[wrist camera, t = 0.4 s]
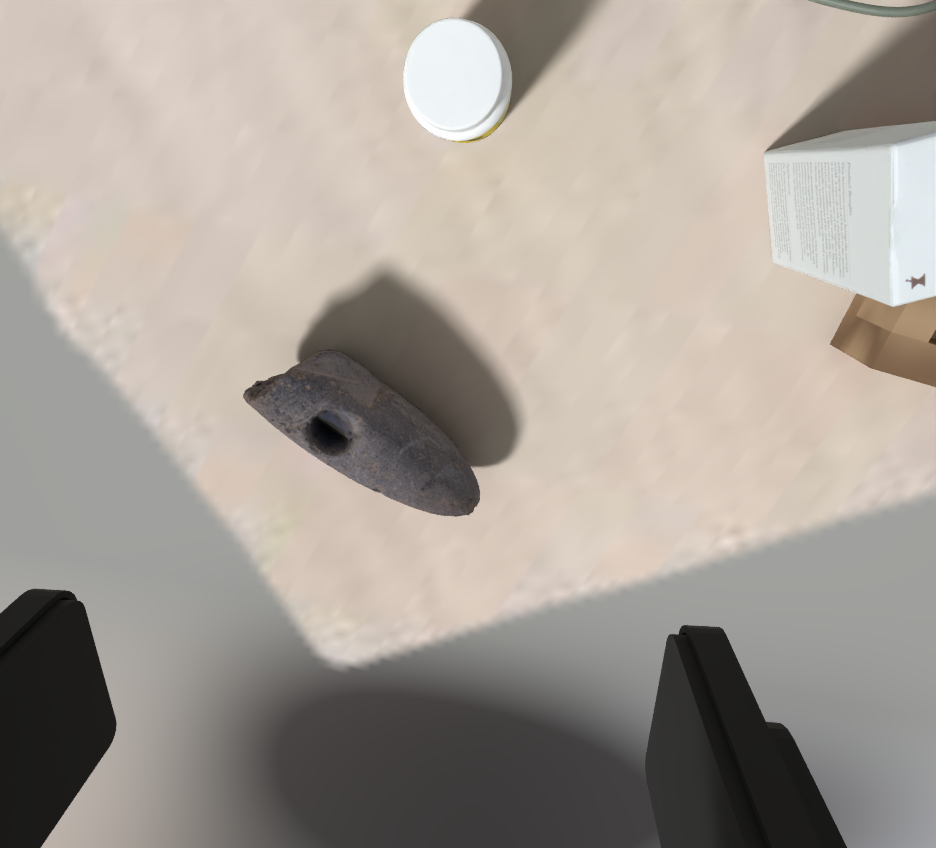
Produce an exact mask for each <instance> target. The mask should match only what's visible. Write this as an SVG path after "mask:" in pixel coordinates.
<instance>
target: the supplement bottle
mask: <svg viewBox="0 0 936 848" xmlns="http://www.w3.org/2000/svg"><path fill="white" fill-rule="evenodd" d="M403 83H404V92H405V97H406V100H407V103H408V106H409V108H410V110H411V112H412V113H413V115H414V117H415V118H416V119H417V121H418V122H419V123H420V124H421V125H422V126H423V127H424V128H425V129H426V130H427V131H429V132H430V133H432V134H433V135H435V136H437V137H440V138H442V139H445V140H449V141H453V142H459V143H470V142H475V141H479V140H481V139H484V138H486V137H487V136H489V135H490V134H492V133H493V132H494V131H495V130H496V129H497V128H498V127H499V125H500V124H501V123H502V121H503V120H504V118H505V116H506V114H507V111H508V108H509V104H510V99H511V91H512V71H511V65H510V61H509V58H508V55H507V53H506V51H505V49H504V47H503V46H502V44H501V42H500V41H499V40H498V39H497V37H496V36H495V35H494V34H493V33H492V32H491V31H490V30H488V29H487V28H486V27H484V26H483V25H481V24H479V23H477V22H474V21H471V20H466V19H460V18H446V19H442V20H439V21H436V22H434V23H432V24H430V25H429V26H427V27H426V28H425V29H423V30H422V31H421V32H420V33H419V35H418V36H417V37H416V38H415V40H414V41H413V43H412V45H411V47H410V49H409V51H408V54H407V58H406V62H405V67H404V75H403Z"/></svg>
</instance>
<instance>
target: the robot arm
mask: <svg viewBox="0 0 936 848" xmlns="http://www.w3.org/2000/svg"><path fill="white" fill-rule="evenodd" d="M115 732H116V718H115V715H114V711H113V708H112V704H111V700H110V697H109V693H108V690H107V686H106V682H105V679H104V675H103V671H102V668H101V665H100V660H99V657H98V653H97V650H96V646H95V642H94V639H93V635H92V632H91V628H90V625H89V621H88V617H87V613H86V610H85V607H84V605H83V603H82V602H80V601H77V599H76V597H75V595H74V594H73V593H72V592H70V591H65V590H64V591H62V590H46V589H31V590H28V591H26V592H25V593H23V594H22V595H21V596H19V597H18V598H17V599H16V600H15V601H14V602H13V603H12V604H10V605H9V606H8V607H7V608H6V609H5V610H4V611H3V612H2V613H0V848H41V846H42V845H43V843H44V842H45V840H46V839H47V837H48V836H49V834H50V833H51V831H52V830H53V829H54V827H55V826H56V824H57V823H58V821H59V820H60V818H61V817H62V815H63V814H64V812H65V811H66V810H67V808H68V806H69V805H70V804H71V802H72V801H73V799H74V798H75V796H76V795H77V793H78V792H79V791H80V789H81V788H82V786H83V785H84V783H85V782H86V780H87V779H88V777H89V776H90V774H91V773H92V772H93V770H94V769H95V767H96V766H97V764H98V763H99V761H100V760H101V758H102V757H103V755H104V754H105V753H106V751H107V750H108V748H109V747H110V745H111V743H112V741H113V738H114V736H115ZM645 769H646V779H647V785H648V790H649V794H650V799H651V803H652V808H653V812H654V817H655V821H656V825H657V830H658V834H659V840H660V844H661V848H847V847H846V845H845V843H844V841H843V838H842V836H841V835H840V833H839V830H838V828H837V826H836V824H835V822H834V820H833V818H832V816H831V814H830V812H829V810H828V808H827V806H826V804H825V802H824V800H823V798H822V796H821V794H820V792H819V789H818V787H817V785H816V783H815V781H814V779H813V777H812V775H811V773H810V771H809V769H808V767H807V765H806V763H805V761H804V759H803V757H802V755H801V753H800V751H799V749H798V747H797V745H796V742H795V740H794V739H793V737H792V735H791V734H790V732H789V731H788V729H787V728H786V727H785V726H784V725H782V724H780V723H773V722H766V721H765V719H764V717H763V715H762V713H761V710H760V709H759V706H758V704H757V702H756V699H755V697H754V695H753V693H752V691H751V688H750V686H749V684H748V682H747V680H746V678H745V675H744V673H743V671H742V669H741V667H740V664H739V662H738V660H737V658H736V655H735V653H734V651H733V649H732V647H731V645H730V642H729V640H728V638H727V636H726V634H725V632H724V630H723V629H722V628H720V627H708V626H688V625H684V626H682V627H681V628H680V631H679V635H676V634H670V635H669V636H668V638H667V642H666V648H665V653H664V659H663V664H662V669H661V675H660V681H659V686H658V692H657V697H656V702H655V708H654V714H653V719H652V725H651V730H650V736H649V741H648V747H647V752H646V760H645Z"/></svg>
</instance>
